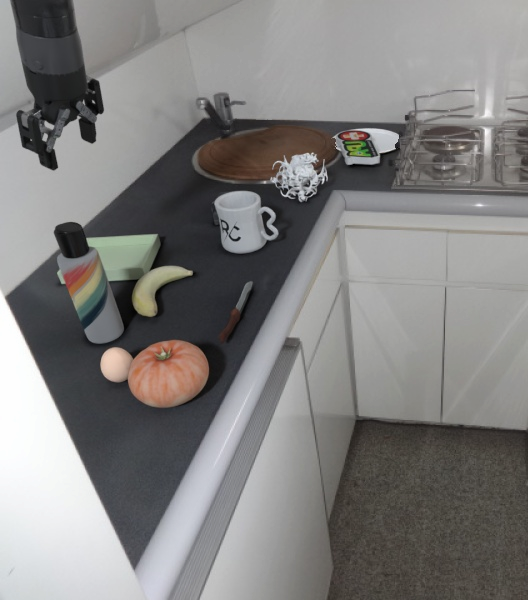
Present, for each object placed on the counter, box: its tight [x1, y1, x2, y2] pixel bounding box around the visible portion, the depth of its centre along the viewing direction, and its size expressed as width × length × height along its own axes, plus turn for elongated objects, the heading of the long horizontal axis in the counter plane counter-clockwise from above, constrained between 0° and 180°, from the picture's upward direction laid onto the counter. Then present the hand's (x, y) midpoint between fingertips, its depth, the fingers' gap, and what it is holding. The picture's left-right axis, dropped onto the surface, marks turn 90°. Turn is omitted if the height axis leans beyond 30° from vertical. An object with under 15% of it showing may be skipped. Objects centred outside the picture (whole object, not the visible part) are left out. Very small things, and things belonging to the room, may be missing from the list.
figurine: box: [270, 152, 329, 203], centre depth 137 cm, size 13×15×12 cm
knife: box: [218, 280, 254, 344], centre depth 99 cm, size 18×2×3 cm, turn 177°
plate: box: [332, 127, 400, 155], centre depth 167 cm, size 21×21×1 cm
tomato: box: [127, 339, 210, 409], centre depth 82 cm, size 11×11×8 cm
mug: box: [213, 190, 279, 255], centre depth 117 cm, size 12×9×10 cm
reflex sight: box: [210, 191, 230, 225], centre depth 130 cm, size 4×10×5 cm, turn 9°
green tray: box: [56, 233, 162, 285], centre depth 114 cm, size 15×13×2 cm
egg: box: [100, 346, 134, 383], centre depth 85 cm, size 4×4×6 cm
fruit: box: [131, 265, 194, 318], centre depth 104 cm, size 7×15×3 cm, turn 172°
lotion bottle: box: [53, 221, 125, 345], centre depth 90 cm, size 6×6×20 cm
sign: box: [335, 129, 381, 166], centre depth 158 cm, size 22×2×10 cm
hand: (70, 153), depth 91 cm, fingers open, 8 cm apart
